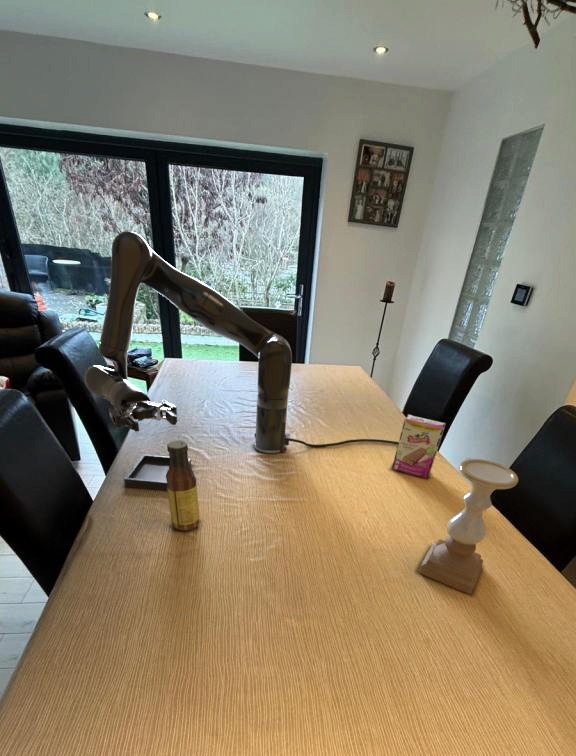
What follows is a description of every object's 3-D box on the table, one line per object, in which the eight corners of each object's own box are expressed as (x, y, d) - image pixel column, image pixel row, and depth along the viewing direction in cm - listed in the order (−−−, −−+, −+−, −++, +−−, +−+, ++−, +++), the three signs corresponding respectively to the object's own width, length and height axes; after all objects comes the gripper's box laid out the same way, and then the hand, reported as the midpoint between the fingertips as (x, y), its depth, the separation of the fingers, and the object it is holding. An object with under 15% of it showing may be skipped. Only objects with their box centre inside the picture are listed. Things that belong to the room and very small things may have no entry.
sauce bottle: (204, 520, 97) (201, 441, 86) (190, 535, 92) (185, 453, 81) (179, 513, 98) (173, 435, 87) (165, 527, 93) (156, 446, 82)
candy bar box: (391, 470, 126) (403, 418, 117) (394, 463, 130) (407, 413, 121) (428, 480, 123) (444, 428, 114) (430, 473, 127) (446, 422, 118)
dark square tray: (191, 465, 119) (190, 458, 117) (178, 491, 106) (177, 483, 105) (143, 461, 118) (142, 454, 117) (125, 486, 106) (123, 479, 105)
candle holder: (471, 595, 83) (517, 492, 70) (417, 572, 87) (451, 472, 74) (481, 566, 91) (524, 469, 78) (432, 546, 95) (465, 452, 82)
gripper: (96, 389, 95) (121, 412, 85) (156, 382, 103) (185, 403, 93) (101, 420, 99) (126, 446, 89) (158, 411, 107) (187, 434, 97)
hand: (156, 424), depth 91 cm, fingers open, 8 cm apart
